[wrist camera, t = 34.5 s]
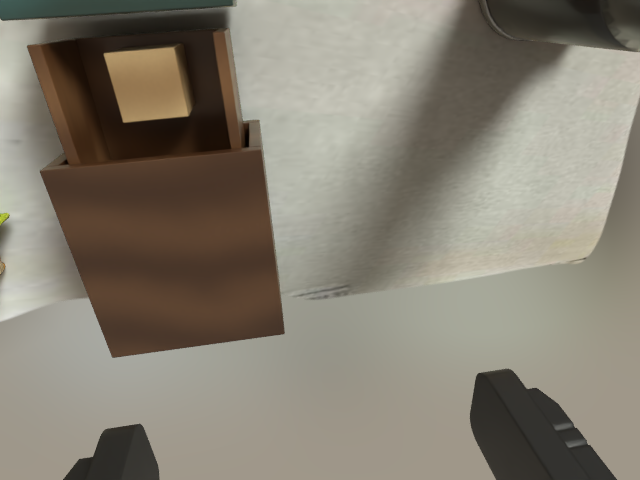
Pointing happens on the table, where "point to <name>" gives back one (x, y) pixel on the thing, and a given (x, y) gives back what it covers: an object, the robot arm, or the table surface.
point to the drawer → (98, 94)
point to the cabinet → (173, 245)
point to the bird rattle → (0, 219)
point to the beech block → (151, 82)
